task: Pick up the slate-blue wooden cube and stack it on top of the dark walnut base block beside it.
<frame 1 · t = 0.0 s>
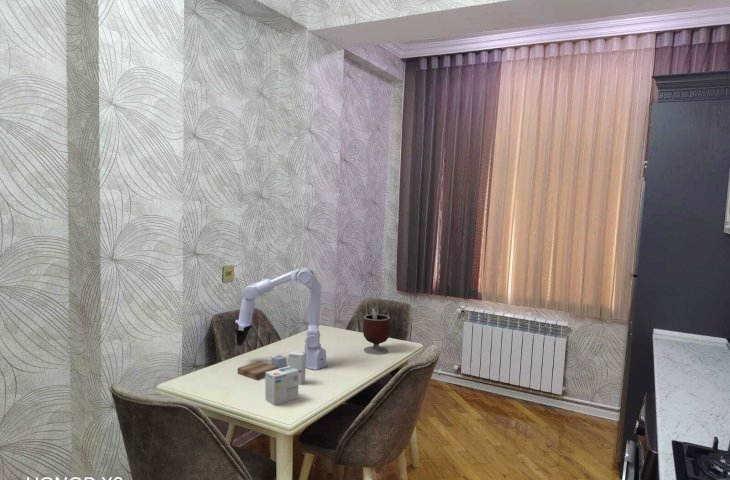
hand: (241, 342, 211), 11 cm above the table, tool pointing down, fingers open, 7 cm apart
slate cube: (278, 367, 211), on the table
light bulb box: (281, 399, 175), on the table
walnut base: (258, 374, 202), on the table
mate gourd: (375, 350, 239), on the table
skincare box: (296, 382, 193), on the table
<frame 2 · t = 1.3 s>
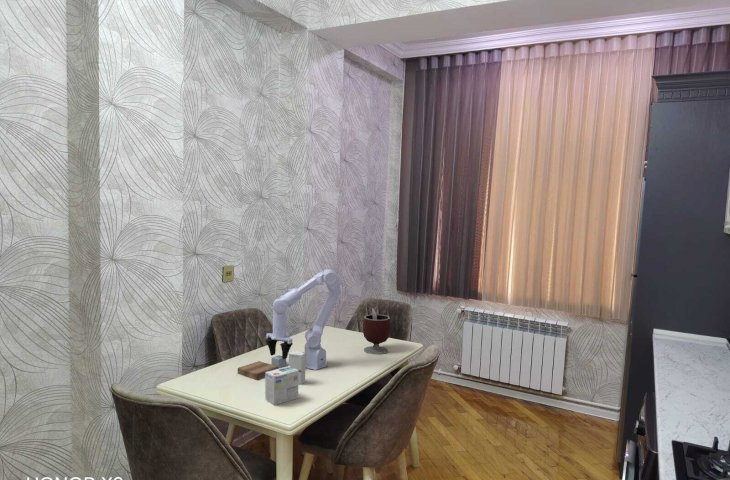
hand: (278, 356, 210), 5 cm above the table, tool pointing down, fingers open, 7 cm apart
nothing on the table moved.
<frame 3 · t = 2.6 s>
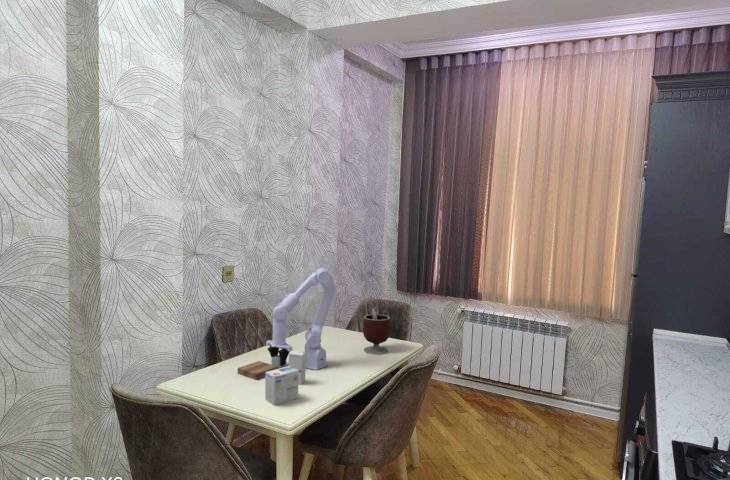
hand: (278, 364, 211), 1 cm above the table, tool pointing down, fingers closed on slate cube, 4 cm apart
slate cube: (278, 367, 211), on the table, touching gripper
everything else where it was.
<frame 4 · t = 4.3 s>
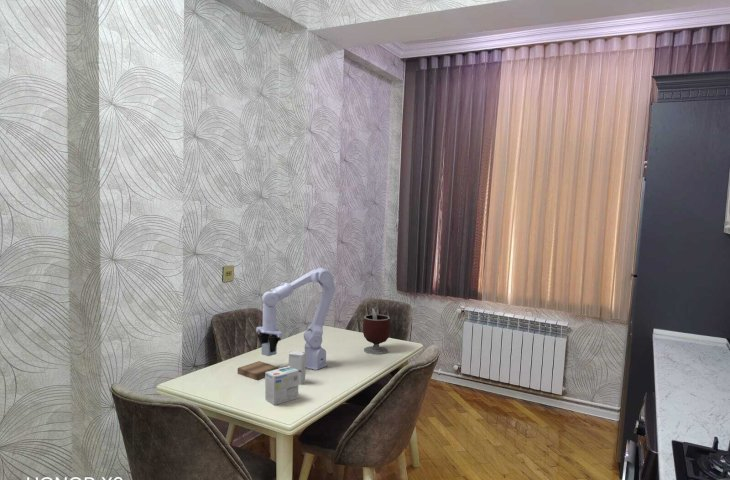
hand: (268, 350, 206), 9 cm above the table, tool pointing down, fingers closed on slate cube, 4 cm apart
slate cube: (269, 354, 206), point 7 cm above the table, touching gripper
everything else where it was.
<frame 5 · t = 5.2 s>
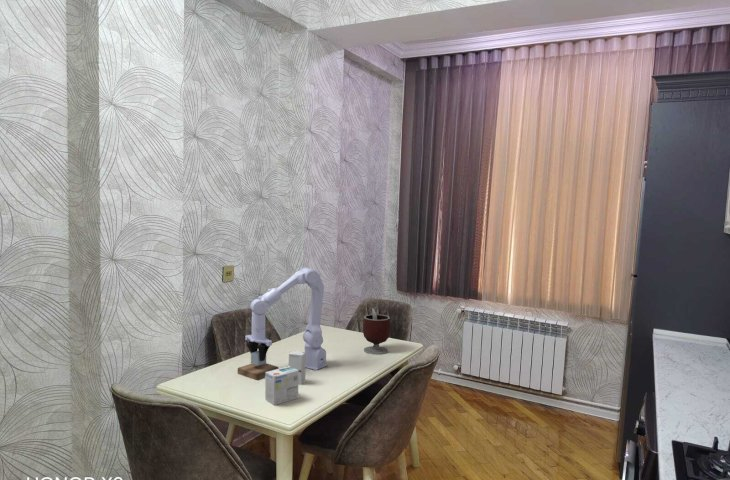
hand: (258, 359, 202), 6 cm above the table, tool pointing down, fingers closed on slate cube, 4 cm apart
slate cube: (258, 363, 202), point 4 cm above the table, touching gripper
everything else where it was.
when the fingers open (6 cm above the table, at t = 6.0 s): slate cube drops 2 cm, resting on walnut base.
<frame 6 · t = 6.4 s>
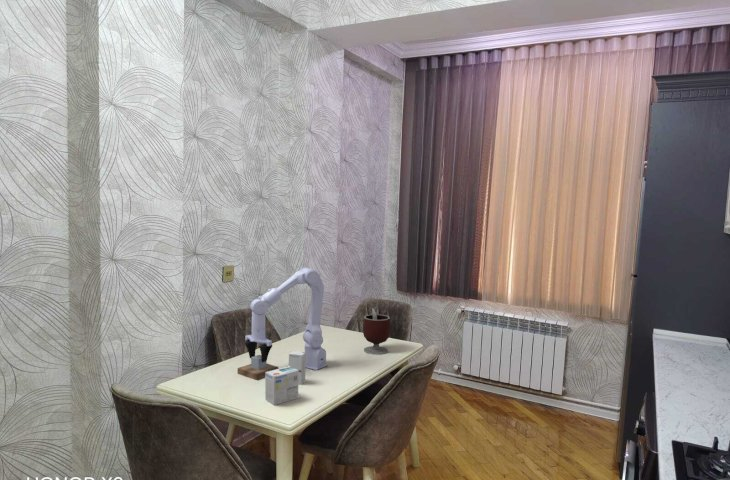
hand: (258, 359, 202), 6 cm above the table, tool pointing down, fingers open, 7 cm apart
slate cube: (258, 367, 202), point 2 cm above the table, touching walnut base
walnut base: (258, 374, 202), on the table, touching slate cube
everything else where it was.
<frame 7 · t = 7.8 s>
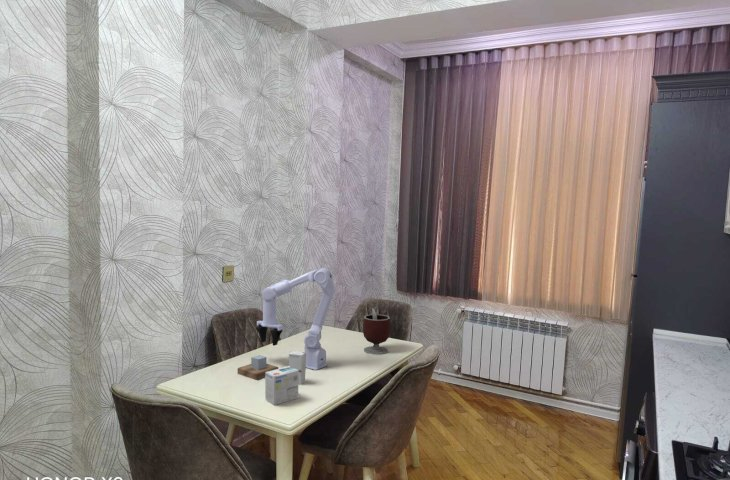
hand: (269, 343, 214), 9 cm above the table, tool pointing down, fingers open, 7 cm apart
nothing on the table moved.
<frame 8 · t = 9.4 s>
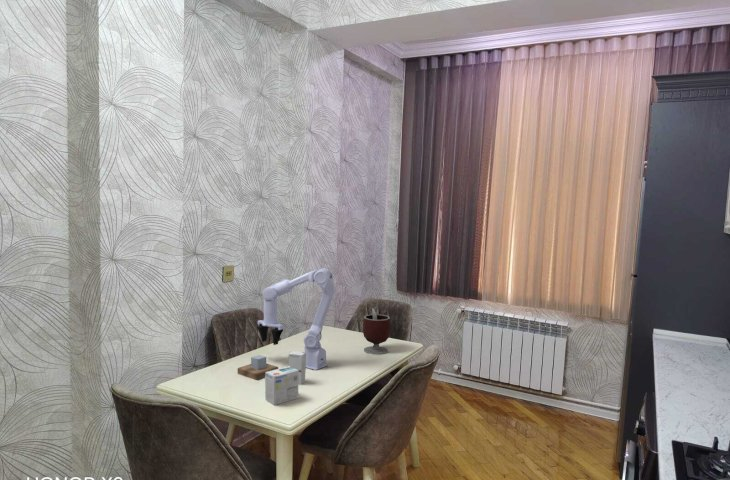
hand: (269, 342, 215), 9 cm above the table, tool pointing down, fingers open, 7 cm apart
nothing on the table moved.
at the end: slate cube 0.2 cm off-centre on the walnut base, point 3.0 cm above the walnut base's base; slate cube tilted 1°; the gripper is holding nothing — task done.
